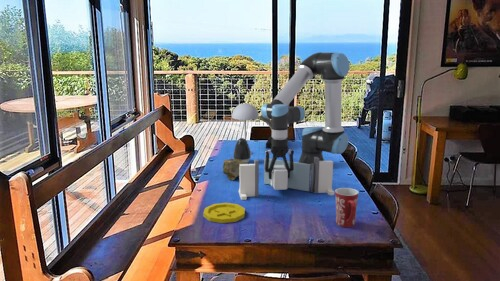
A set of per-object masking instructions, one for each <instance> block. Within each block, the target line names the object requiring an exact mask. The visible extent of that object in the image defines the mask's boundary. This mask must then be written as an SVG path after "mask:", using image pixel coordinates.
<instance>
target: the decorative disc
mask: <svg viewBox="0 0 500 281" xmlns="http://www.w3.org/2000/svg"><path fill="white" fill-rule="evenodd" d="M245 215H246V208H245V207H244V206H242V205H240V204H237V203H232V202H231V203H230V202H222V203H213V204H211V205H209V206H207V207H205V208H204V211H203V217H204V218H205V219H206V220H207V221H209V222H213V223H220V224H226V223H227V224H229V223H235V222H238V221H240V220H242V219H244V218H245Z"/></svg>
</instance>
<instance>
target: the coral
mask: <svg viewBox="0 0 500 281" xmlns="http://www.w3.org/2000/svg"><path fill="white" fill-rule="evenodd" d="M258 119H259V120H260V121H262V122H264V123H265V124H267V125H268V126H269V128H270V130H271V132H272V119H268V118H264V117H263V116H262V114H261V115H260V116H259V118H258ZM287 139H288V140H289V136H288V137H287ZM271 147H272V135H271V136H268V139H267V141H266V143H265V149H268V150H270V149H271Z"/></svg>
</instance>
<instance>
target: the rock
mask: <svg viewBox="0 0 500 281" xmlns="http://www.w3.org/2000/svg"><path fill="white" fill-rule="evenodd" d="M240 164H249V162H248V163H247V162H243V161H242V160H240V159H234V158H229V159H225V160H223V166H222V174H224V175H225V176H226V177H227V179H228V180H229V181H232V182H234V181H235V180H236V179H237V178H238V177H240Z"/></svg>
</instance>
